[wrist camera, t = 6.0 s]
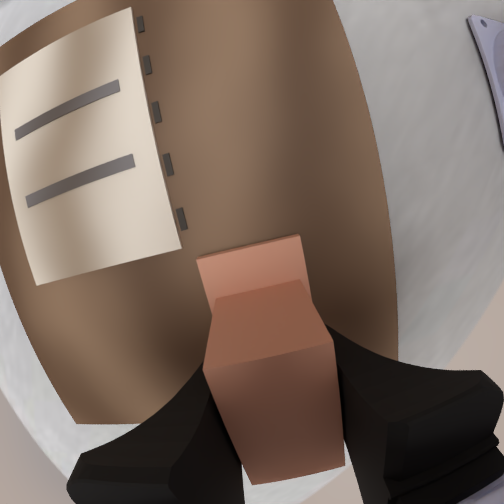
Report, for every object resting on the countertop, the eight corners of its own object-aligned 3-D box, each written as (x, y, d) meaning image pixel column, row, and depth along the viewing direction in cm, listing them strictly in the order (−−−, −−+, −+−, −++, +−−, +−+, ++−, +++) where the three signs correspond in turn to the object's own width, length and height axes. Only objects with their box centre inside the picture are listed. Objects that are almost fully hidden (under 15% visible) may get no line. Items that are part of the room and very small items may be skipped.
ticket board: (303, -41, 9) (308, -58, 8) (388, 358, 14) (400, 374, 13) (-13, 71, 10) (-29, 66, 8) (83, 411, 14) (74, 427, 13)
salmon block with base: (297, 233, 11) (338, 276, 6) (326, 404, 13) (354, 484, 8) (197, 256, 11) (168, 314, 6) (249, 421, 13) (253, 505, 8)
